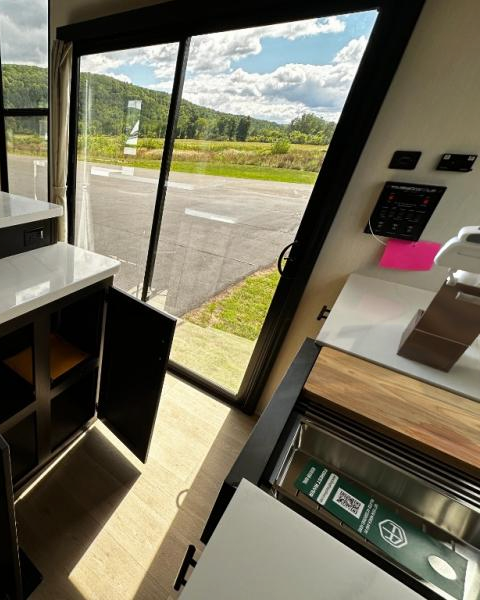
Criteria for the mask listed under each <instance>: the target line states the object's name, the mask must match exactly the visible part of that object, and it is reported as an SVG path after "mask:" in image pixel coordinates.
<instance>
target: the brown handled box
mask: <svg viewBox="0 0 480 600" xmlns="http://www.w3.org/2000/svg"><path fill="white" fill-rule="evenodd" d="M447 279H448V278H447ZM447 279H445V280H444V281H443V283H442V284H441V285H440V287H439V289H438V291H436V293H435V295H434V296H433V298H432V299H431V301H430V302H429V304H428V306H427V307H426V308H425V312H424V313H423V315H422V316H421V318H420V319H419V321H418V322H417V324H416V325H415V327H414V328H415V329H418V330H421V331H424V332H427V333H430V334H434V335H437V336H440V337H443V338H446V339H449V340H453V341H456V342H459V343H462V344H465V345H468V346H469V347H471V346H472V345H473V343H474V342H475V340H477V339H478V337H479V336H480V286H478V285H477V286H473V285H468V284H464V283H460V282H457V283H456V285H455V286H451V285H447V284H446V283H447V281H448V280H447Z"/></svg>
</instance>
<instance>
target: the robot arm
mask: <svg viewBox="0 0 480 600" xmlns="http://www.w3.org/2000/svg"><path fill="white" fill-rule="evenodd" d="M433 262H434V263H435V266H438V267H443V268H447V269H448V277H449V280H448V281H447V283H446V284H447V285H451V286H455V285H456V283H457V282H458V278H455V277H454V273H457V271H458V270H461V271H466V272H470V273H475V274H479V275H480V225H468V226H463V227H462V228H460V230H459V232H458V233H457V236H453V237H452V238H450V239H449V240H448V241H447V242H445V244H444V245H443V246H442V247H441V248H440V249H439V250H438V251H437V253H436V255H435V257H434V259H433Z"/></svg>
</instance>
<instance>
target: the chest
mask: <svg viewBox="0 0 480 600" xmlns="http://www.w3.org/2000/svg"><path fill="white" fill-rule="evenodd" d="M425 310H426V309H425ZM425 310H424V309H422V308H418V310H417V311H416V312H415V313H414V315H413V317H412V318H411V319H410V321H409V323H408V324H407V326H406V328H405V329H404V331H403V332H402V334H401V338H400V341H399V344H398V348H397V350H396V355H397V356H400V357H403V358H405V359H408V360H410V361H413V362H414V361H415V362H417V363H419V364H422V365H424V366H428V367H430V368H433V369H436V370H439V371H442V372H443V373H447V374H448V373H449V372H450V371H451V370H452V369H453V367H454V366H455V364H456V363H457V362H458V361H459V360H460V358H462V356H463V355H464V354H465V353H466V351H467V350H468V349H469V348H470V346H468V345H465V344H462V343H459V342H456V341H453V340H449V339H446V338H443V337H440V336H437V335H434V334H430V333H427V332H424V331H421V330H418V329H415V328H414V327H415V325H416V324H417V322H418V321H419V319H420V318H421V316H422V315H423V313H424V312H425Z"/></svg>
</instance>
